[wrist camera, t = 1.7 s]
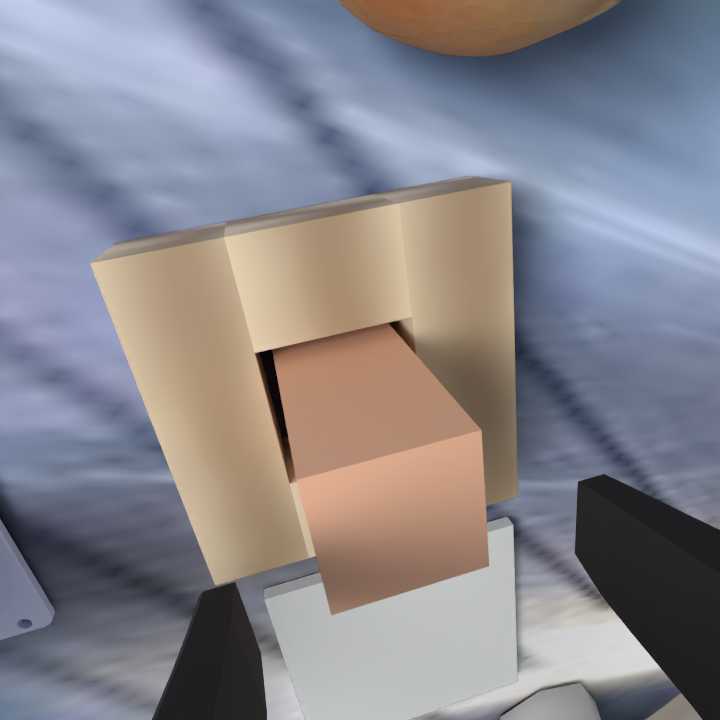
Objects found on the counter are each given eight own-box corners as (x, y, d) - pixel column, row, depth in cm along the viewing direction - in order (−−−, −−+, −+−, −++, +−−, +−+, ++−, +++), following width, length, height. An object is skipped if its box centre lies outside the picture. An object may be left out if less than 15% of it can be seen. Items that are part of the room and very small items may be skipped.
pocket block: (217, 528, 21) (214, 585, 18) (114, 243, 16) (90, 263, 13) (484, 455, 23) (518, 496, 20) (468, 176, 18) (511, 181, 15)
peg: (291, 424, 20) (331, 615, 12) (268, 331, 18) (296, 479, 10) (388, 399, 20) (489, 566, 12) (374, 307, 19) (481, 429, 11)
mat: (313, 740, 28) (315, 752, 27) (263, 589, 23) (264, 599, 22) (512, 671, 29) (517, 681, 29) (507, 516, 24) (513, 524, 24)
